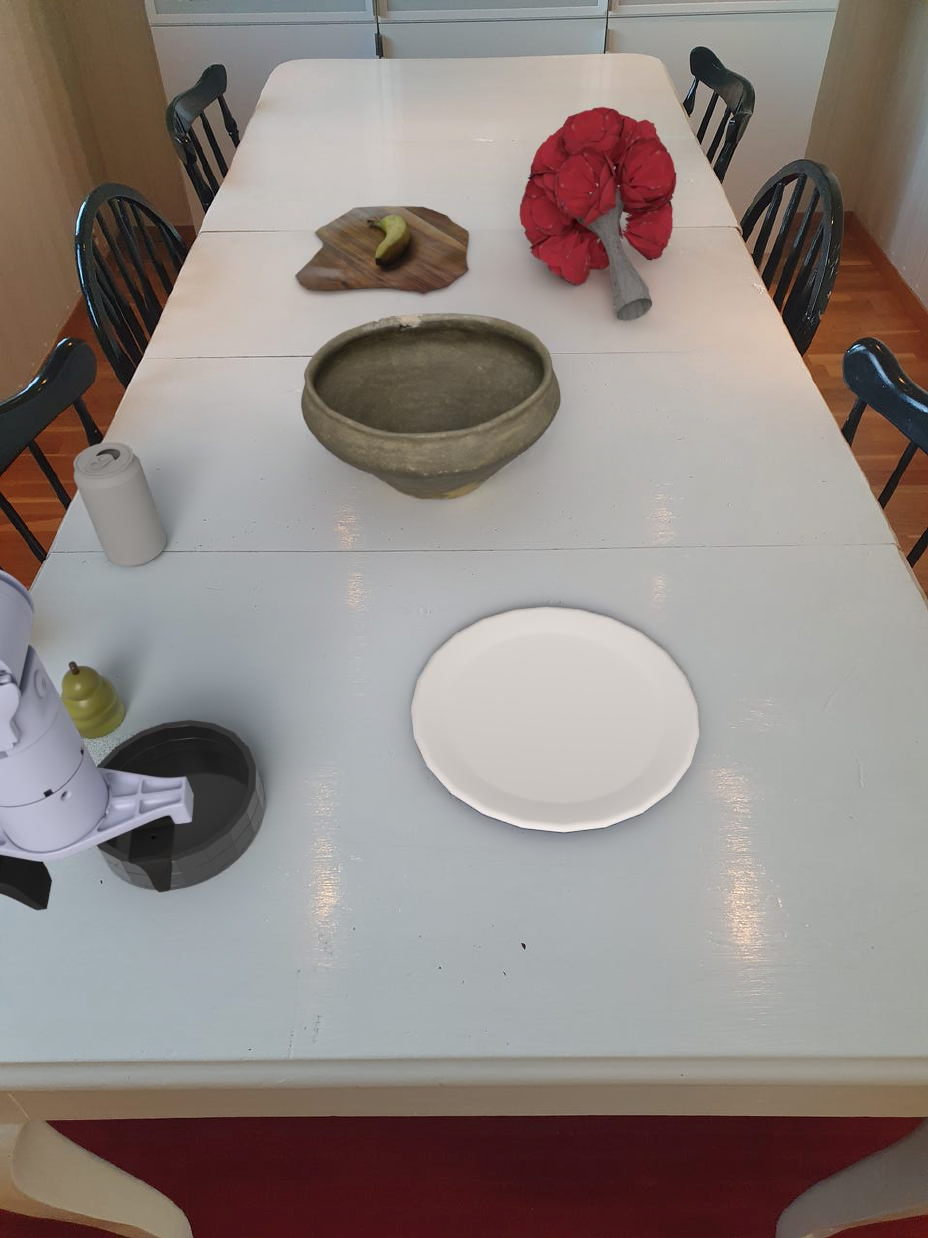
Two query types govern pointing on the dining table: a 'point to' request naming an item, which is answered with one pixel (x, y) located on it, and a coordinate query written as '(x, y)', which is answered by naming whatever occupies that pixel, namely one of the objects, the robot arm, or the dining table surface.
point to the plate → (555, 719)
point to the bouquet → (600, 201)
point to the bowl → (431, 399)
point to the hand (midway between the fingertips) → (105, 886)
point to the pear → (91, 701)
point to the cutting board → (387, 250)
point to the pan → (219, 804)
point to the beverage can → (119, 503)
